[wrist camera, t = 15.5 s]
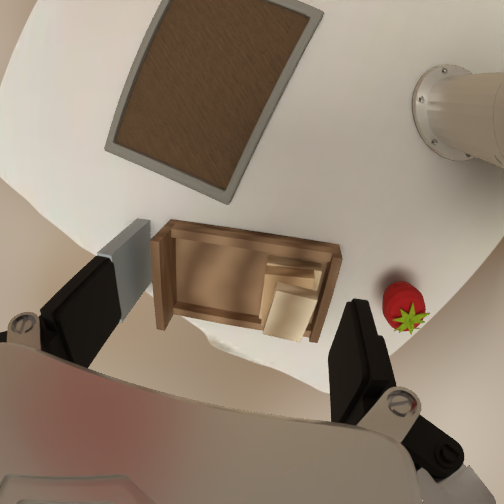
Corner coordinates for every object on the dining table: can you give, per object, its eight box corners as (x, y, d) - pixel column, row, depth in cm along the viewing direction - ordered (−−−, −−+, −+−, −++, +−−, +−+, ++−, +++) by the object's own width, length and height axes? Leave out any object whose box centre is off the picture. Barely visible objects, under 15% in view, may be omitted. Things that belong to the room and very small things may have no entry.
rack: (338, 244, 40) (345, 271, 34) (316, 325, 47) (318, 357, 40) (170, 219, 42) (149, 240, 36) (172, 301, 48) (156, 328, 42)
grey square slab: (149, 220, 42) (111, 255, 33) (152, 279, 47) (121, 322, 37) (137, 218, 42) (97, 252, 33) (141, 277, 47) (109, 319, 37)
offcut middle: (313, 269, 38) (314, 278, 37) (305, 319, 42) (305, 329, 40) (266, 265, 39) (264, 274, 37) (262, 315, 43) (261, 325, 41)
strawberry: (402, 257, 40) (426, 297, 31) (419, 294, 42) (440, 337, 33) (367, 276, 42) (381, 321, 33) (386, 311, 44) (401, 357, 35)
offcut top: (316, 291, 37) (317, 300, 35) (300, 332, 41) (299, 342, 39) (277, 281, 37) (276, 290, 36) (264, 324, 41) (262, 333, 39)
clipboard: (103, 150, 37) (188, -47, 23) (109, 148, 39) (192, -43, 25) (228, 206, 39) (333, -5, 25) (230, 202, 40) (332, 0, 26)
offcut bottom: (321, 263, 40) (322, 271, 38) (307, 316, 45) (307, 325, 43) (268, 255, 41) (267, 262, 39) (260, 309, 45) (258, 318, 43)
